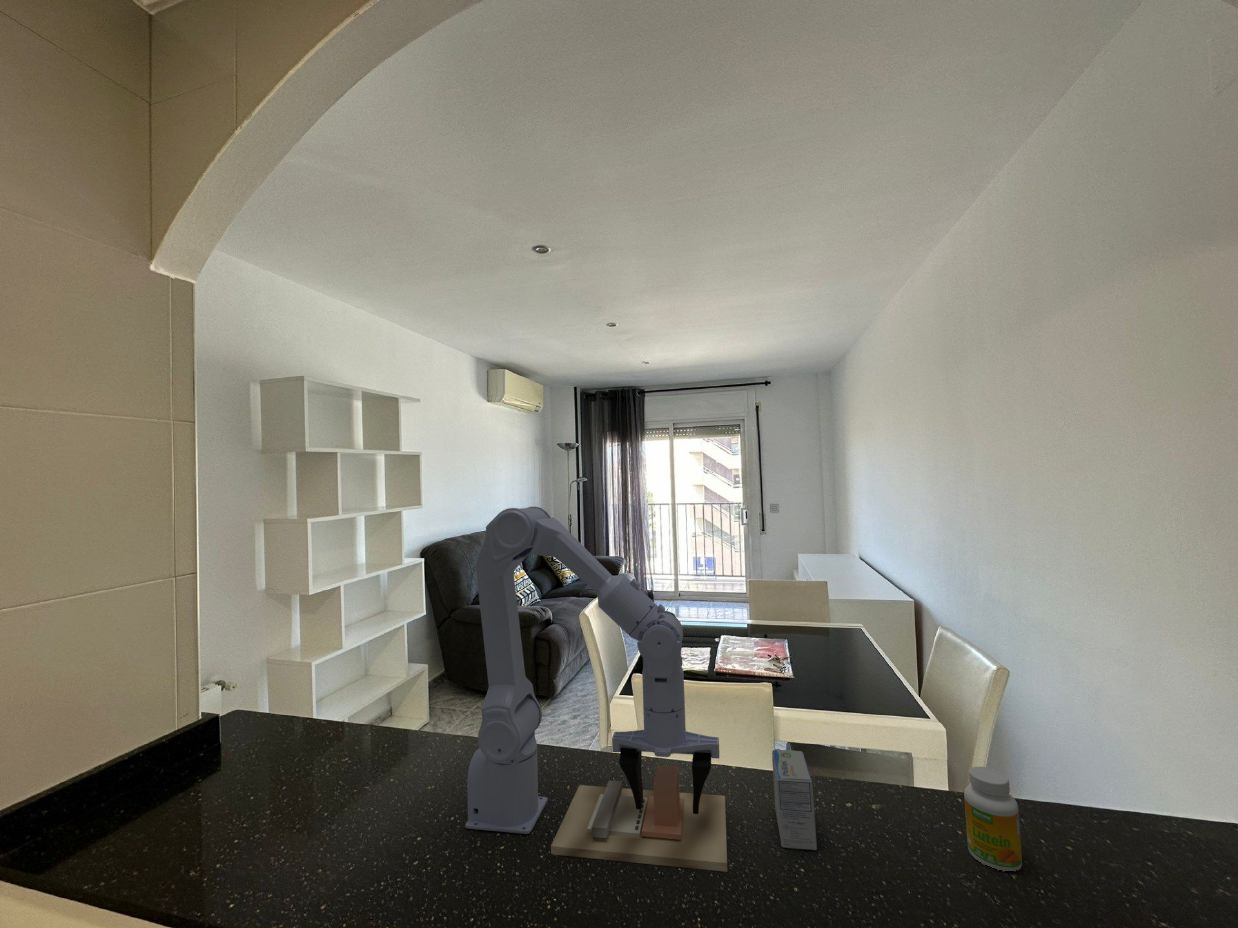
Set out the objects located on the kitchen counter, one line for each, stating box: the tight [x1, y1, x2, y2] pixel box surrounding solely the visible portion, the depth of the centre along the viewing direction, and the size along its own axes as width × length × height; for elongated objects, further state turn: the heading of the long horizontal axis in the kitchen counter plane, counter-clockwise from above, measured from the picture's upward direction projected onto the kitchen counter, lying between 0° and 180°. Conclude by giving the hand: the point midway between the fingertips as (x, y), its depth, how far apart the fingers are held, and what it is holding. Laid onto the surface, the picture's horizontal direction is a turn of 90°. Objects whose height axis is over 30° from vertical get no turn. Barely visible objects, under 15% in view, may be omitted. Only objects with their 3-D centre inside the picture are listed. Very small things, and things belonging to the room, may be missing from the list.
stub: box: [642, 764, 684, 840], centre depth 70 cm, size 5×8×6 cm, turn 170°
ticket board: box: [550, 780, 728, 873], centre depth 70 cm, size 22×14×3 cm, turn 79°
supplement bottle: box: [963, 766, 1023, 872], centre depth 63 cm, size 5×5×10 cm
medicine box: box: [771, 749, 818, 851], centre depth 69 cm, size 8×4×9 cm, turn 168°
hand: (667, 807), depth 70 cm, fingers open, 7 cm apart
